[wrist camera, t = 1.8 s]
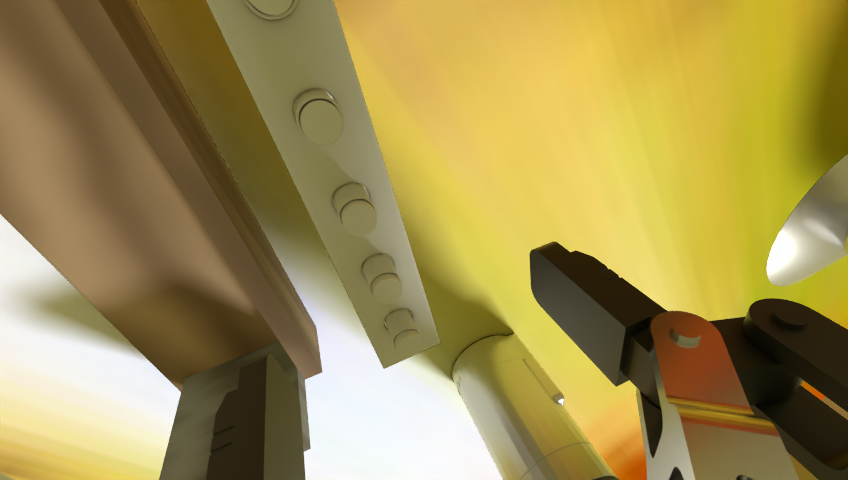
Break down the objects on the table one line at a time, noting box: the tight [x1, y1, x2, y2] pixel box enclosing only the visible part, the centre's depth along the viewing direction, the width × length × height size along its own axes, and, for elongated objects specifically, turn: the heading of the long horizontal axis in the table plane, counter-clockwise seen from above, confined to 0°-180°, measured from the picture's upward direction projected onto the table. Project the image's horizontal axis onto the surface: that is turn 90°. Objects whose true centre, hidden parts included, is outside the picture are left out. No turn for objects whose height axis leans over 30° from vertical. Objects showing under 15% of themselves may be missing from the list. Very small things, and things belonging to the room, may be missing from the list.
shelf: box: [0, 0, 322, 480], centre depth 20 cm, size 12×31×12 cm, turn 12°
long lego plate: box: [206, 0, 441, 369], centre depth 22 cm, size 25×4×13 cm, turn 14°
